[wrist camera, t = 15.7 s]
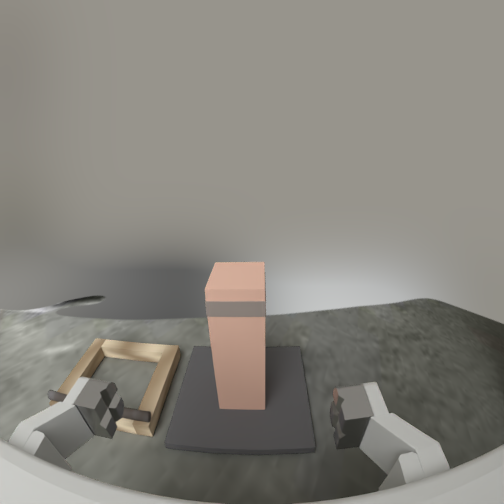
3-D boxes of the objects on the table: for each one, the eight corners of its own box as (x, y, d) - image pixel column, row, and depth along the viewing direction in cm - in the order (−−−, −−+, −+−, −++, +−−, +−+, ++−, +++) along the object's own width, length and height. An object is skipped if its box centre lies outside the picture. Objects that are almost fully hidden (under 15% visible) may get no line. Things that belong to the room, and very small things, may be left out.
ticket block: (265, 373, 28) (264, 261, 25) (265, 409, 24) (265, 289, 20) (224, 372, 29) (214, 262, 25) (219, 409, 24) (203, 289, 20)
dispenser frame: (180, 355, 32) (177, 338, 31) (152, 436, 21) (145, 419, 20) (99, 348, 33) (94, 331, 32) (55, 413, 21) (45, 395, 21)
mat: (299, 351, 33) (299, 346, 32) (314, 452, 20) (315, 447, 19) (195, 351, 33) (194, 346, 33) (166, 447, 20) (164, 442, 20)
